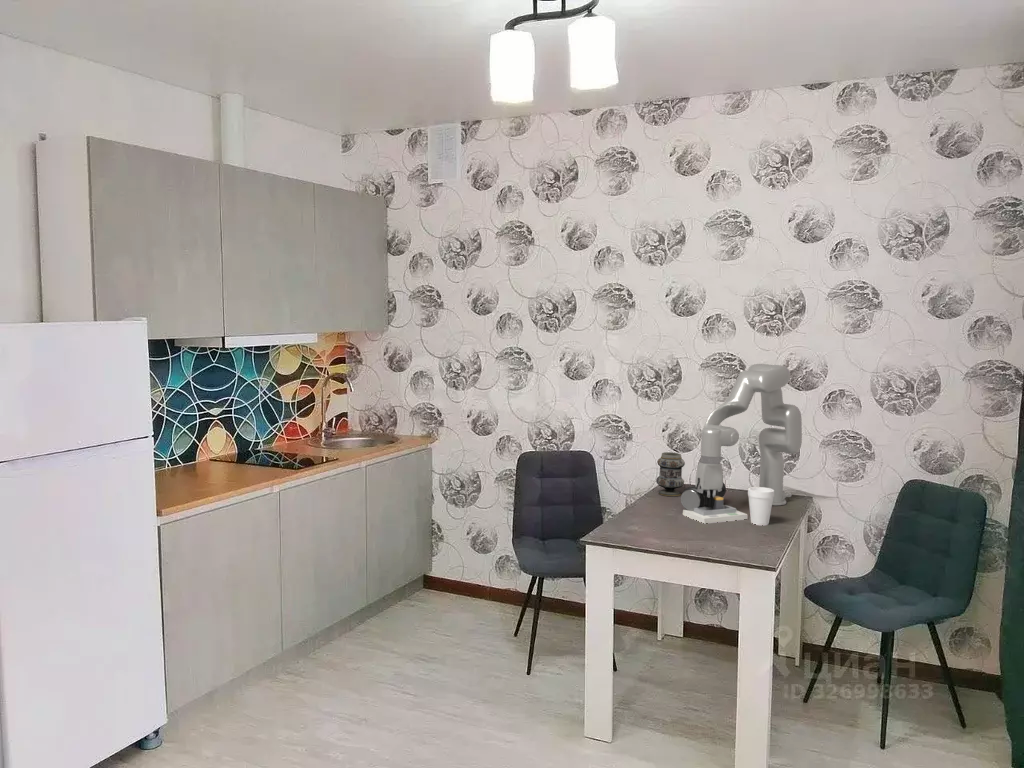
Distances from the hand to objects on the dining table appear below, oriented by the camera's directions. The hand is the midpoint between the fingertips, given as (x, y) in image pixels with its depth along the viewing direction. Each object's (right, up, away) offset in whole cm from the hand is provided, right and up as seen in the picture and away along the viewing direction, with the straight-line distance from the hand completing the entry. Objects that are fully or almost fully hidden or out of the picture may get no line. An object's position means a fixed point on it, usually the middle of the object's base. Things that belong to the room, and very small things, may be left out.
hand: (708, 506), depth 310 cm
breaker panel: (+3, -4, +1) cm, 5 cm away
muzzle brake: (+1, -3, +15) cm, 15 cm away
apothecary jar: (-7, -1, +41) cm, 42 cm away
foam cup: (+18, -5, -7) cm, 20 cm away
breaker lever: (+4, -2, +2) cm, 5 cm away
